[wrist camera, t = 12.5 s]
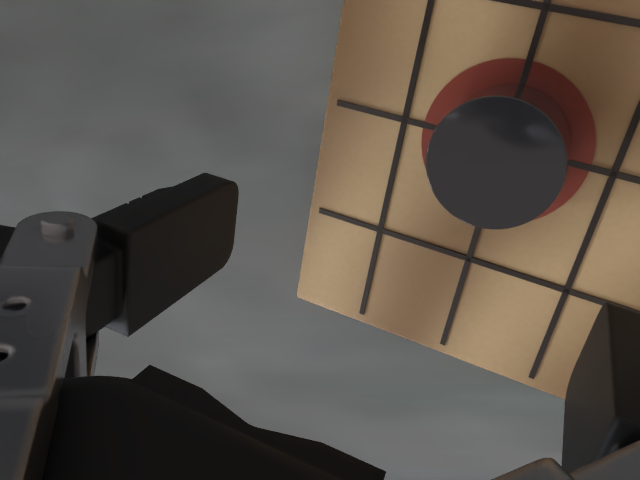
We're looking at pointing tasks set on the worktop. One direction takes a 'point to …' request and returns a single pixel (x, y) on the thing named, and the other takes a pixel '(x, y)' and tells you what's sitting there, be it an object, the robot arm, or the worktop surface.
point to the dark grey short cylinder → (500, 156)
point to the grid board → (442, 227)
